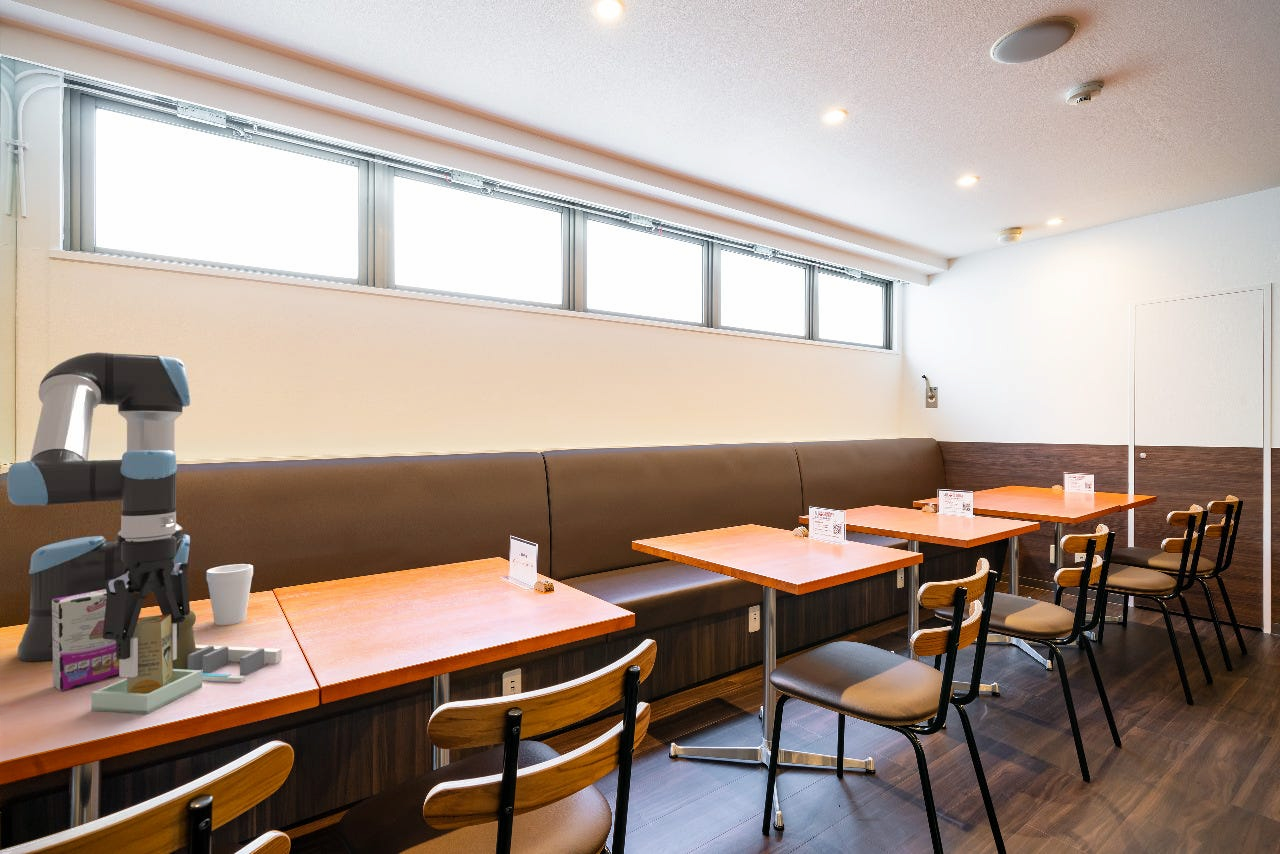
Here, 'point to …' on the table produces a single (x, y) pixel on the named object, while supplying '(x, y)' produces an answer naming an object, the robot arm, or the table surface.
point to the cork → (185, 642)
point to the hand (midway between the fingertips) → (149, 667)
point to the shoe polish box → (152, 654)
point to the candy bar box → (81, 641)
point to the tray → (123, 702)
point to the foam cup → (229, 592)
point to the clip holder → (220, 655)
